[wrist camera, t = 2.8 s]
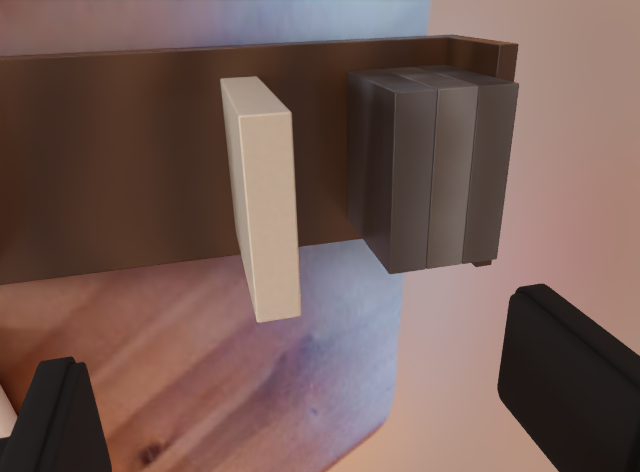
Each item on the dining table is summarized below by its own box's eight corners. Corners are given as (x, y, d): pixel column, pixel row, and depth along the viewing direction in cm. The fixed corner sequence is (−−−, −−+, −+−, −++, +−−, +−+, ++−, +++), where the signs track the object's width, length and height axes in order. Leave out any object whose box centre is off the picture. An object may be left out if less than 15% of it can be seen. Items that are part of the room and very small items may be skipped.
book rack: (452, 34, 31) (544, 47, 23) (438, 219, 36) (510, 281, 28) (-169, 64, 25) (-333, 95, 17) (-82, 284, 30) (-177, 387, 22)
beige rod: (80, 520, 40) (74, 549, 38) (51, 529, 39) (44, 558, 37) (-22, 327, 32) (-36, 350, 30) (-59, 336, 32) (-76, 360, 29)
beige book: (257, 76, 28) (292, 111, 19) (268, 228, 32) (302, 317, 23) (219, 78, 28) (237, 115, 19) (235, 232, 32) (256, 324, 23)
